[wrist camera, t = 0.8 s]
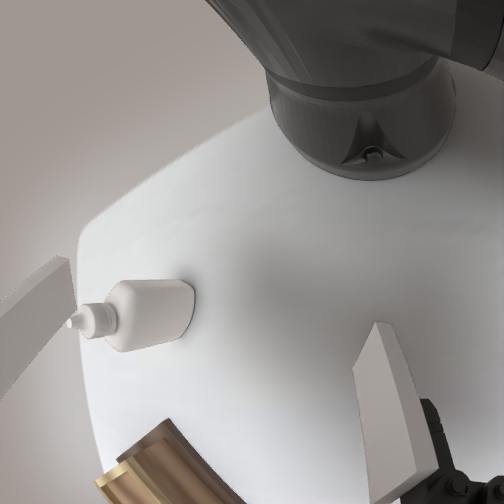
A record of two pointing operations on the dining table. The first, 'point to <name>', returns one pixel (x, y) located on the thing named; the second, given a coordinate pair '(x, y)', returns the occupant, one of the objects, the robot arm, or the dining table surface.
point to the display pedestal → (164, 473)
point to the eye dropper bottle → (138, 314)
